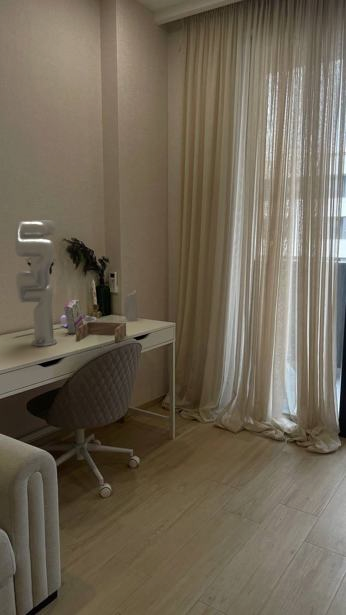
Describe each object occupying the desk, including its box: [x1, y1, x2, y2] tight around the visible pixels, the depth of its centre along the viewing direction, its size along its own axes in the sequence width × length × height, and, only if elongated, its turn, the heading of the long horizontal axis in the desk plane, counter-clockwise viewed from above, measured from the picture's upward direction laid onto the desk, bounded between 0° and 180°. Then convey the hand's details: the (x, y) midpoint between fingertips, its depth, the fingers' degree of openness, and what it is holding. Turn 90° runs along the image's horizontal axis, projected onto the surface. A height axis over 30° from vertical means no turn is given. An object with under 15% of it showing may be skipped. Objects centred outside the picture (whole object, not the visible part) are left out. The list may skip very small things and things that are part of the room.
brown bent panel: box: [75, 321, 127, 343], centre depth 248 cm, size 19×22×7 cm
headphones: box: [60, 311, 104, 328], centre depth 281 cm, size 22×8×22 cm
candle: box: [115, 290, 138, 322], centre depth 299 cm, size 7×14×20 cm, turn 84°
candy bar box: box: [63, 299, 84, 333], centre depth 261 cm, size 11×5×16 cm, turn 169°
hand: (41, 274), depth 255 cm, fingers open, 9 cm apart
